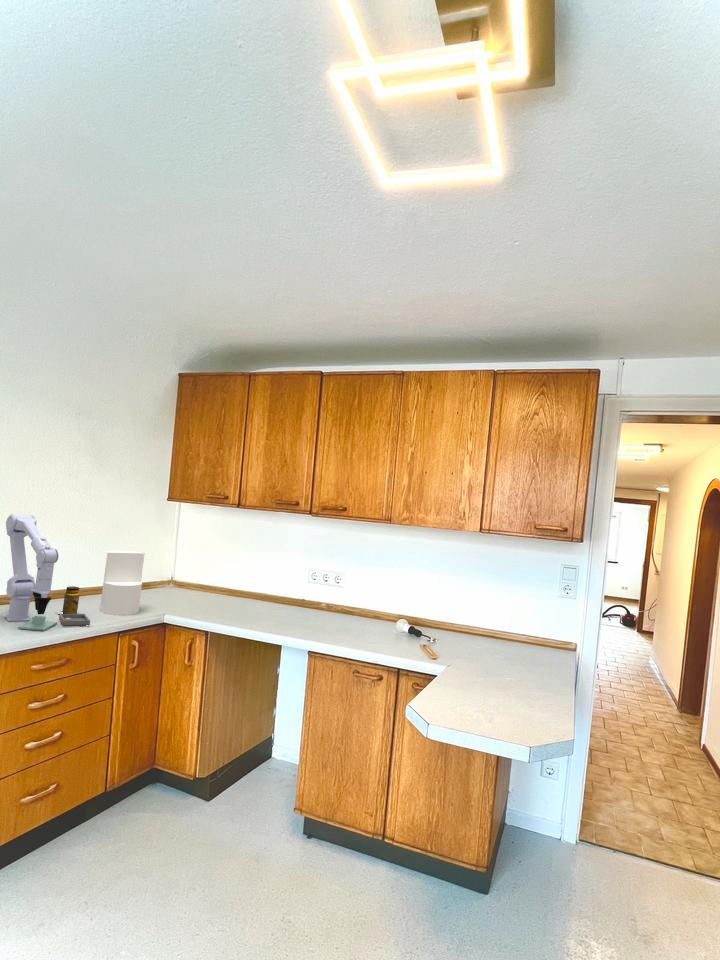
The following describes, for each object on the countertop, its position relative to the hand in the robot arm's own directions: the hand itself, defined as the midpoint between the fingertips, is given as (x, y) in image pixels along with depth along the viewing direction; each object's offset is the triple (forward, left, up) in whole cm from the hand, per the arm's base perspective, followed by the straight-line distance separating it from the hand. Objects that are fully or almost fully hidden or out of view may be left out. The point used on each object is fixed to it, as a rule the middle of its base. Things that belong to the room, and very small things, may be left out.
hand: (39, 612), depth 228 cm
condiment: (-22, +14, -6) cm, 27 cm away
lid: (0, 0, -6) cm, 6 cm away
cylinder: (-25, +37, -6) cm, 45 cm away
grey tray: (-4, +14, -6) cm, 16 cm away
